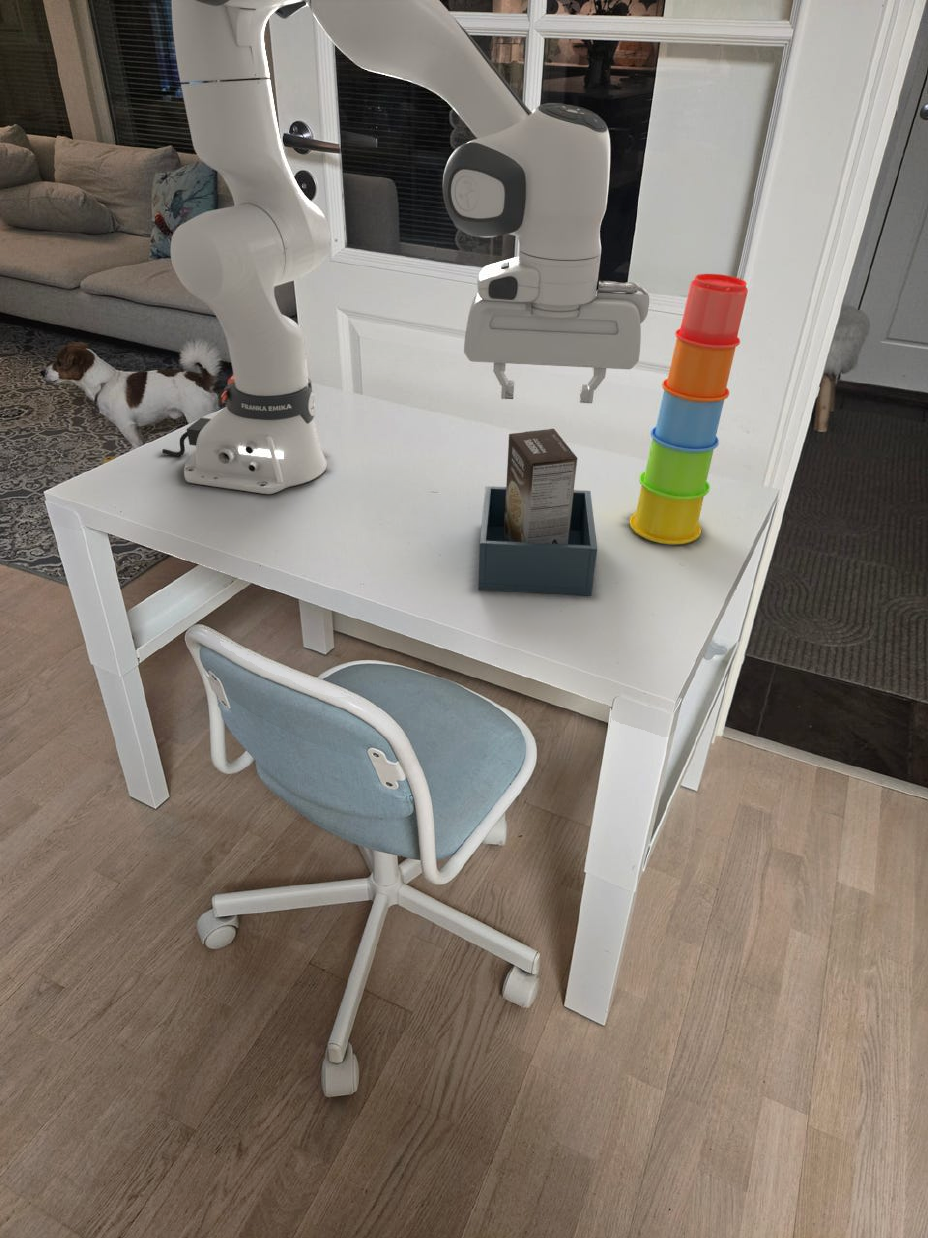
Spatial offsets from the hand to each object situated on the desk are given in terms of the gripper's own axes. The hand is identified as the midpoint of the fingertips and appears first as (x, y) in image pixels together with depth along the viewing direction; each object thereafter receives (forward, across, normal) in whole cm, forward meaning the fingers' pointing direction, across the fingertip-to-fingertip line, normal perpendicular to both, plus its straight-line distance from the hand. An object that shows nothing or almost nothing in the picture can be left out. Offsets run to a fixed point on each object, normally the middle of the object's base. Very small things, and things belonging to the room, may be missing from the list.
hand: (546, 399), depth 98 cm
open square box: (+23, 0, 0) cm, 23 cm away
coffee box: (+22, 0, 0) cm, 22 cm away
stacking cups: (+23, -19, -10) cm, 32 cm away
